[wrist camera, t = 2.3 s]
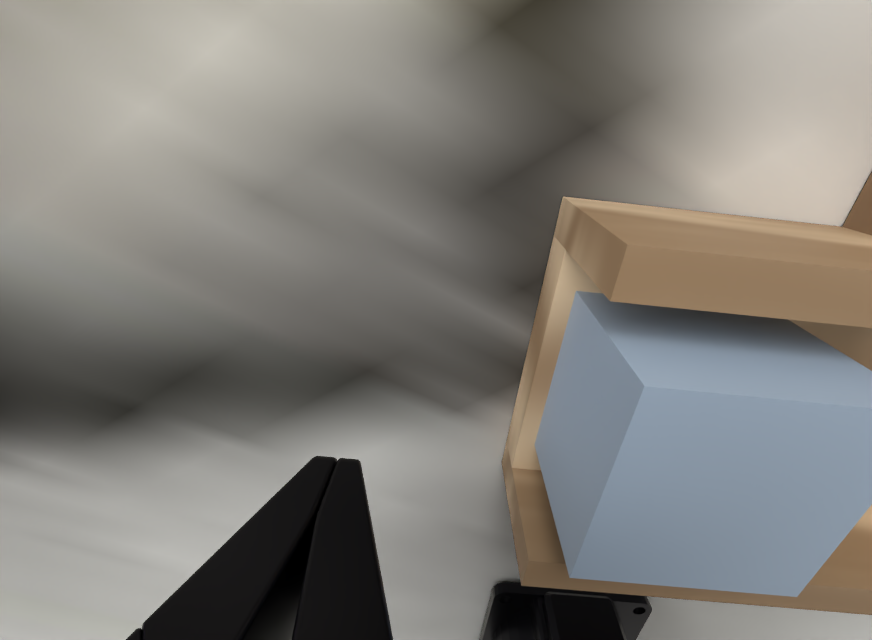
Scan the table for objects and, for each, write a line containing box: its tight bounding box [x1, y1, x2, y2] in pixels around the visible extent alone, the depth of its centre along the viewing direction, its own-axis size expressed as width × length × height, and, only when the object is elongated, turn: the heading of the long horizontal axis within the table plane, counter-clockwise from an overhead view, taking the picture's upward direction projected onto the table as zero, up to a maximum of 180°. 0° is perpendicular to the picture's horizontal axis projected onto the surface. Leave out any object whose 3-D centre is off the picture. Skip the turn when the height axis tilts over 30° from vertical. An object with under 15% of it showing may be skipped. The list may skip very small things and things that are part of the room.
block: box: [535, 291, 872, 597], centre depth 10 cm, size 5×5×4 cm
